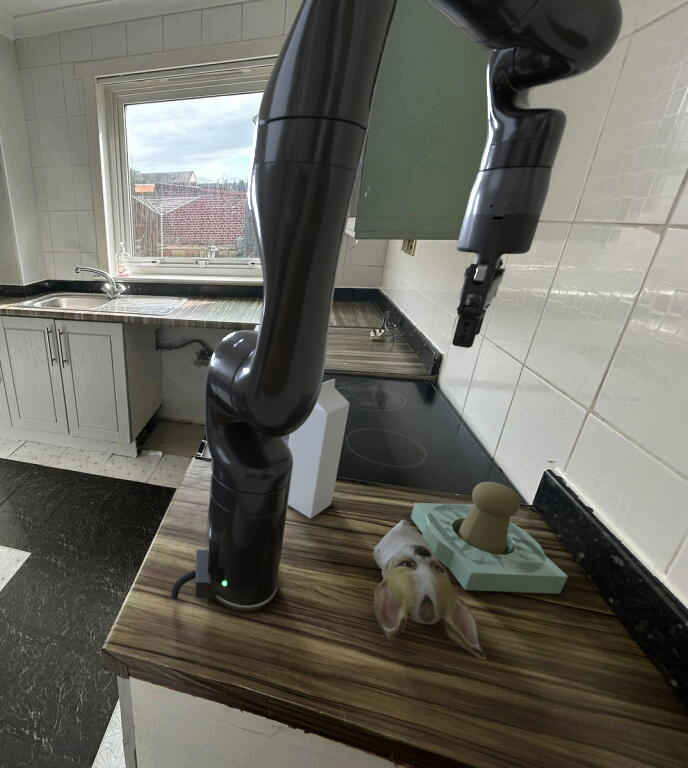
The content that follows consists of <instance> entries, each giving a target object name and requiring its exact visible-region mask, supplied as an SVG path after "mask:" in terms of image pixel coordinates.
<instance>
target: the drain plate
mask: <svg viewBox="0 0 688 768" xmlns="http://www.w3.org/2000/svg"><path fill="white" fill-rule="evenodd" d="M472 506H473V504H468V503H466V504H465V503H438V502H437V503H433V502H414V504H413V508H412V512H411V515H410V519H411V520H412V521H413V523H414V524H415V526H416V527H417V528H418V530H419V531H420V532H421V535H422V536H423V538H424V539H425V540H426V541H427V542H428V544H429V545H430V547H431V549H432V551H433V553H434V554H435V556H436V558H437V560H438V562H439V563H440V564H442V565H444V566H445V567H446V568H448V569H449V571H450V572H451V574H452V575H453V576H454V578H455V579H456V580H457V581H458V583H459V584H460V586H461V587H462V588H463V590H464V591H476V592H504V593H526V594H527V593H528V594H529V593H530V594H553V595H554V594H557V595H559V594H561V592H562V590H563V589H564V586H565V584H566V582H567V579H568V577H569V576H568V575H567V573H566V572H564V571H563V570H562V569H561V568H559V566H557V565H556V563H554V562H553V561H552V560H551V559H550V558H549V557H548V556H546V554H545V552H544V550H543V548H542V546H541V544H540V543H539V542H537V540H536V539H534V538H533V536H532V535H530V534H529V533H528V532H527V531H526V530H525V529H523V528H521V527H519V526H518V525H516V524H514V523H513V522H511V521H510V522H509V528H508V534H507V539H506V545H505V551H504V555H498V554H492V553H488V552H484V551H481V550H479V549H477V548H475V547H473V546H470V545H469V544H468V543H466V542H465V541H463V540H462V539H460V538H459V537H458V535H457V532H458V530H459V529H460V527H461V525H462V523H463V522H464V520H465V518H466V516H467V514H468V513H469V511H470V509H471V507H472Z"/></svg>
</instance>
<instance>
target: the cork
mask: <svg viewBox="0 0 688 768" xmlns="http://www.w3.org/2000/svg"><path fill="white" fill-rule="evenodd" d="M471 497H472V501H473V504H472V505H473V506H472V507H471V509H470V511H469V513H468V514H467V516H466V518H465V520H464V522H463V523H462V525H461V527H460V529H459V530H458V532H457V535H458V537H459V538H460V539H462V540H463V541H465V542H466V543H468V544H469V545H470V546H473V547H475V548H477V549H479V550H481V551H484V552H488V553H492V554H498V555H504V551H505V545H506V539H507V534H508V528H509V522H511V521H510V520H511V517H512V516H515V515H516V514H517V513H518V512H519V510H520V508H521V499H520V496H519V494H518V492H516V491H515V490H513V489H512V488H511V487H509V486H507V485H506V484H505V485H504V484H502V483H499V482H496V481H482V482H479V483H477V484H476V485H475V487H474V488H473V489H472V493H471Z"/></svg>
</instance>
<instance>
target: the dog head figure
mask: <svg viewBox="0 0 688 768" xmlns="http://www.w3.org/2000/svg"><path fill="white" fill-rule="evenodd" d="M373 559H374V561H375V562H376V565H377V566H378V567H379V568H380V570H381V575H382V578H383V580H382V581H381V582H380V583H379V584H377V586H376V587H375V589H374V591H373V595H374V596H373V608H374V614H375V618H376V622H377V625H378V627H379V629H380V631H381V632H382V634H383V636H384V637H385V639H386V640H387V641H388V642H391V641H392V640H394V638H395V637H397V636H398V635H400V634H402V632H404V631H405V630H406V628H407V625H408V620H410V621H412V622H415V623H418V624H421V625H434V624H436V623H437V622H439V621H440V620H442V622H443V626H444V630H445V633H446V634H447V636H448V637H449V638H450V639H451V640H452V641H453V642H455V643H456V644H457V645H459V646H460V647H462V648H463V649H465V650H466V651H468V652H470V653H471V654H473V655H474V656H475V657H477V658H478V659H480V660H484V661H485V660H486V659H487V657H486V654H485V652H484V650H483V648H482V643H481V638H480V633H479V630H478V624H477V620H476V618H475V616H474V614H472V612H471V609H470V607H469V605H468V604H467V603H466V602H465V601H464V600H463V599H461V597H459V596H458V595H456V594H455V592H454V588H453V585H452V583H451V581H450V578H449V575H448V573H447V571H446V570H445V568H444V566H443V564H442V563H441V562H440V561H439V560H438V559H437V558H436V556H435V554H434V553H433V551H432V549H431V547H430V545H429V544H428V542H427V541H426V540H425V539H424V538H423V534H422V533H420V532H419V531H418V530H417V529H416V528H414V527H413V526H412V525H411V524H410V523H409V522H408V521H407V520H406V519H402V520H400V521H399V522H398V523H397V524H396V525H395V526H393V527H392V528H391V529H390V530H389V531H388V532H387V533H385V535H384V536H383V537H382V539H380V541H379V542H378V543H377V544H376V545H375V546H374V548H373Z"/></svg>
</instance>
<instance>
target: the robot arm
mask: <svg viewBox="0 0 688 768" xmlns="http://www.w3.org/2000/svg"><path fill="white" fill-rule="evenodd" d="M426 1H427V2H428V3H429V4H431V5H432V6H433V7H435V8H436V9H437V10H438V11H440V12H441V13H442V14H443V15H445V17H447V19H448V20H450V22H452V23H453V24H454V25H455V26H456V27H457V28H458V29H459V30H460V31H461V32H462V33H463V34H464V35H465V36H466V37H467V38H468V39H469V40H471V41H472V42H473V44H475V45H476V46H477V47H479V48H480V49H483V50H486V51H490V53H489V56H488V59H487V63H486V64H487V65H486V76H485V81H486V82H485V83H486V98H487V99H486V101H487V102H486V103H487V115H486V117H487V118H486V119H487V122H486V123H487V127H486V128H487V131H486V140H485V143H484V147H483V152H482V156H481V159H480V163H479V167H478V171H477V173H476V177H475V179H474V182H473V185H472V188H471V190H470V192H469V196H468V200H467V204H466V209H465V213H464V217H463V220H462V223H461V228H460V232H459V236H458V240H457V244H456V249H457V251H458V252H460V253H473V254H475V255H476V258H475V261H474V263H470V265H469V266H468V267H466V268H465V271H464V274H463V284H462V288H461V290H460V292H459V304H458V306H457V308H456V312H457V313H456V314H457V317H458V320H457V323H456V327H455V330H454V333H453V338H452V342H451V344H452V345H453V346H454V347H459V348H466V349H470V348H472V347H473V345H474V342H475V340H476V339H475V338H476V336H478V335H479V334H480V332H481V329H482V326H483V322H484V320H485V317H486V313H487V309H489V307H490V306H491V304H492V303H493V300H494V299H495V298H496V296H497V293H498V290H499V286H500V284H501V283H502V282H503V279H504V276H505V272H506V268H505V267H504V268H503V267H502V266H503V265H504V262H503V259H502V256H503V255H524V254H527V253H528V252H530V250H531V247H532V245H533V241H534V238H535V234H536V232H537V229H538V226H539V223H540V222H539V221H540V219H541V216H542V213H543V209H544V206H545V203H546V199H547V197H548V193H549V191H550V190H549V189H550V182H551V176H552V173H553V168H554V167H555V162H556V159H557V156H558V153H559V150H560V147H561V143H562V139H563V136H564V133H565V131H566V127H567V120H568V117H567V113H566V112H565V111H564V110H562V109H560V108H555V107H531V105H530V98H529V95H530V91H531V89H535V88H539V87H543V86H547V85H552V84H556V83H559V82H564V81H567V80H572V79H575V78H577V77H580V76H582V75H584V74H586V73H588V72H590V71H591V70H593V69H594V68H596V67H597V66H598V65H599V64H601V63H602V62H603V61H604V59H605V58H606V57H607V56H608V55H609V54H610V52H611V51H612V50H613V49H614V47H615V44H616V43H617V41H618V39H619V36H620V34H621V32H622V31H621V30H622V27H623V18H624V17H623V15H624V14H623V7H622V4H621V1H620V0H426ZM397 4H398V0H301V2H300V4H299V5H300V6H299V8H298V10H297V12H296V15H295V17H294V19H293V21H292V24H291V25H290V28H289V30H288V33H287V35H286V36H285V39H284V41H283V43H282V46H281V48H280V51H279V52H278V55H277V58H276V59H275V62H274V65H273V67H272V71H271V72H270V75H269V77H268V80H267V83H266V86H265V88H264V91H263V94H262V97H261V101H260V103H259V104H260V105H259V109H258V113H257V118H256V123H255V130H254V137H253V144H252V151H251V159H250V166H249V174H248V183H247V198H248V199H247V201H248V208H249V216H250V220H251V225H252V230H253V234H254V238H255V240H254V241H255V244H256V247H257V253H258V258H259V263H260V267H261V272H262V284H263V287H262V288H263V289H262V290H263V292H262V293H263V295H262V296H263V298H262V306H261V307H262V308H261V315H260V321H259V326H258V330H253V329H243V330H238V331H234V332H232V333H230V334H228V335H226V337H224V338H223V339H222V340H221V341H220V342H219V343H218V344H217V345H216V347H215V348H214V350H213V352H212V354H211V356H210V359H209V361H208V365H207V369H206V375H205V387H204V389H205V392H204V393H205V394H204V395H205V396H204V397H205V400H204V403H205V405H204V406H205V408H204V409H205V412H204V413H205V439H206V440H205V441H206V446H207V449H208V452H209V455H210V482H209V501H208V503H209V504H208V507H207V513H206V515H207V516H206V533H205V534H206V535H205V536H206V537H205V549H196V550H195V564H194V565H195V569H192V570H190V571H188V572H187V573H184V574H183V575H181V576H180V577H178V578H177V579H176V581H174V584H172V585H173V586H172V587H171V593H170V598H171V600H175V601H177V600H178V598H179V595H180V594H179V593H180V589H181V588H182V587H183V586H184V585H185V584H186V583H188V582H190V581H192V580H194V579H195V599H205V600H206V599H207V600H212V601H216V602H217V603H219V604H220V605H222V606H223V607H225V608H228V609H230V610H233V611H235V612H241V613H252V612H253V613H254V612H257V611H260V610H263V609H265V608H266V607H269V605H271V603H272V602H273V601H274V600H275V598H276V597H277V594H278V593H277V592H278V587H279V586H278V585H279V571H280V565H281V557H282V549H283V542H284V537H285V536H284V534H285V528H286V519H287V512H288V506H289V505H288V499H289V491H290V484H291V476H292V469H293V456H292V453H291V450H290V448H289V447H288V443H287V442H286V440H285V439H284V437H286V436H289V435H290V434H291V433H293V432H295V431H296V430H297V429H299V428H300V427H301V426H302V425H303V424H304V423H305V421H306V420H307V419H308V418H309V416H310V414H311V413H312V411H313V409H314V407H315V405H316V402H317V399H318V397H319V394H320V390H321V386H322V383H323V380H324V374H325V367H326V359H327V350H328V341H329V333H330V324H331V317H332V307H333V301H334V293H335V288H336V282H337V276H338V271H339V266H340V261H341V255H342V251H343V244H344V241H345V240H344V239H345V234H346V229H347V224H348V219H349V216H350V211H351V206H352V203H353V199H354V196H355V190H356V187H357V183H358V179H359V175H360V171H361V166H362V162H363V158H364V153H365V148H366V143H367V139H368V134H369V129H370V124H371V119H372V113H373V107H374V102H375V97H376V92H377V88H378V83H379V78H380V75H381V74H380V73H381V71H382V66H383V61H384V58H385V53H386V50H387V45H388V42H389V38H390V33H391V30H392V24H393V21H394V17H395V12H396V9H397Z"/></svg>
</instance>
